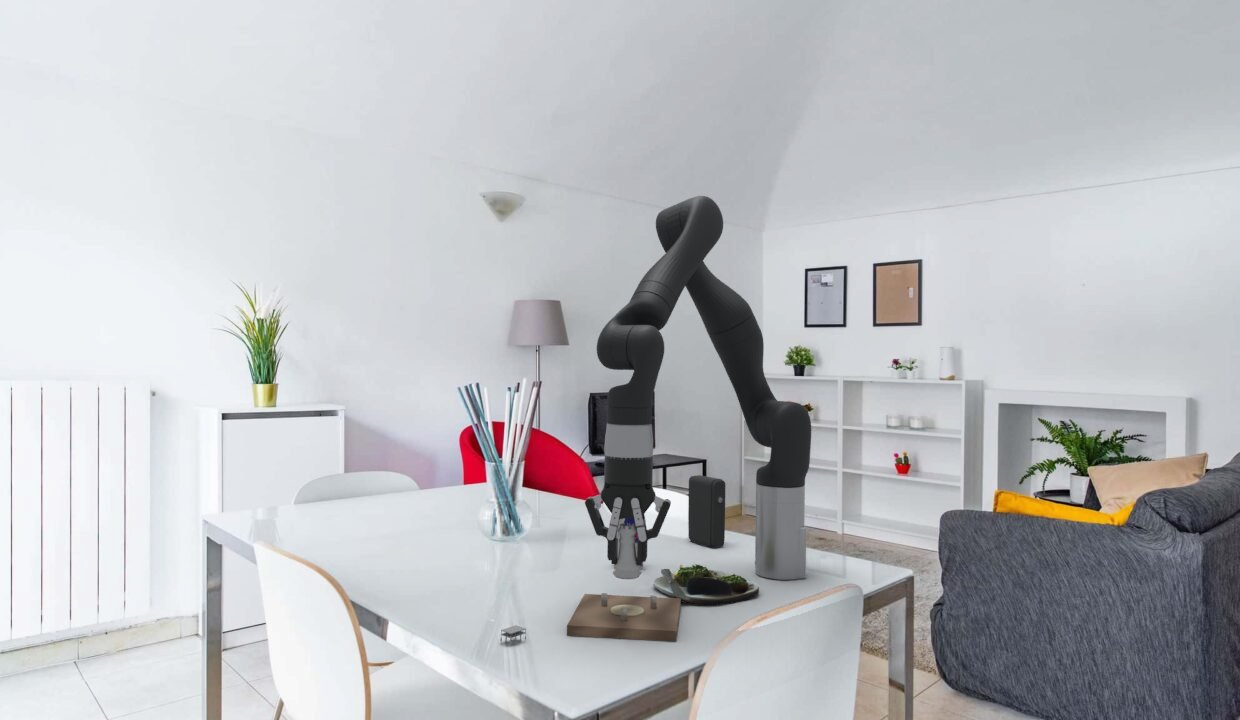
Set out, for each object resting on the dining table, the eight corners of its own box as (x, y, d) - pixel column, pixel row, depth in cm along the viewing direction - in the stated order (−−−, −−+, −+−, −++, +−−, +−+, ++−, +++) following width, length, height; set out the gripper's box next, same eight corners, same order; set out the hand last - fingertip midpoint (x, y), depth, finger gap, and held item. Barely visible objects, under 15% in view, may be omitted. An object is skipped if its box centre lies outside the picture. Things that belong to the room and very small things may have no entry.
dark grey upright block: (727, 547, 171) (728, 479, 171) (713, 549, 169) (714, 480, 169) (700, 539, 179) (701, 474, 179) (686, 541, 176) (687, 475, 177)
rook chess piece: (620, 581, 118) (621, 528, 118) (607, 574, 122) (608, 523, 122) (646, 578, 120) (647, 526, 120) (632, 571, 124) (633, 520, 124)
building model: (500, 644, 110) (500, 630, 110) (516, 638, 112) (516, 624, 113) (510, 648, 109) (510, 633, 109) (526, 642, 111) (526, 628, 111)
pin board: (680, 607, 128) (680, 587, 128) (676, 641, 112) (676, 618, 112) (584, 602, 130) (584, 582, 130) (566, 635, 114) (567, 612, 114)
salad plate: (626, 584, 142) (626, 559, 142) (703, 572, 152) (704, 548, 152) (690, 614, 126) (690, 585, 126) (772, 598, 135) (773, 571, 135)
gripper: (675, 451, 124) (673, 560, 124) (587, 449, 126) (586, 556, 125) (672, 457, 116) (671, 572, 116) (580, 454, 118) (578, 567, 118)
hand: (627, 563), depth 121 cm, fingers closed on rook chess piece, 3 cm apart
